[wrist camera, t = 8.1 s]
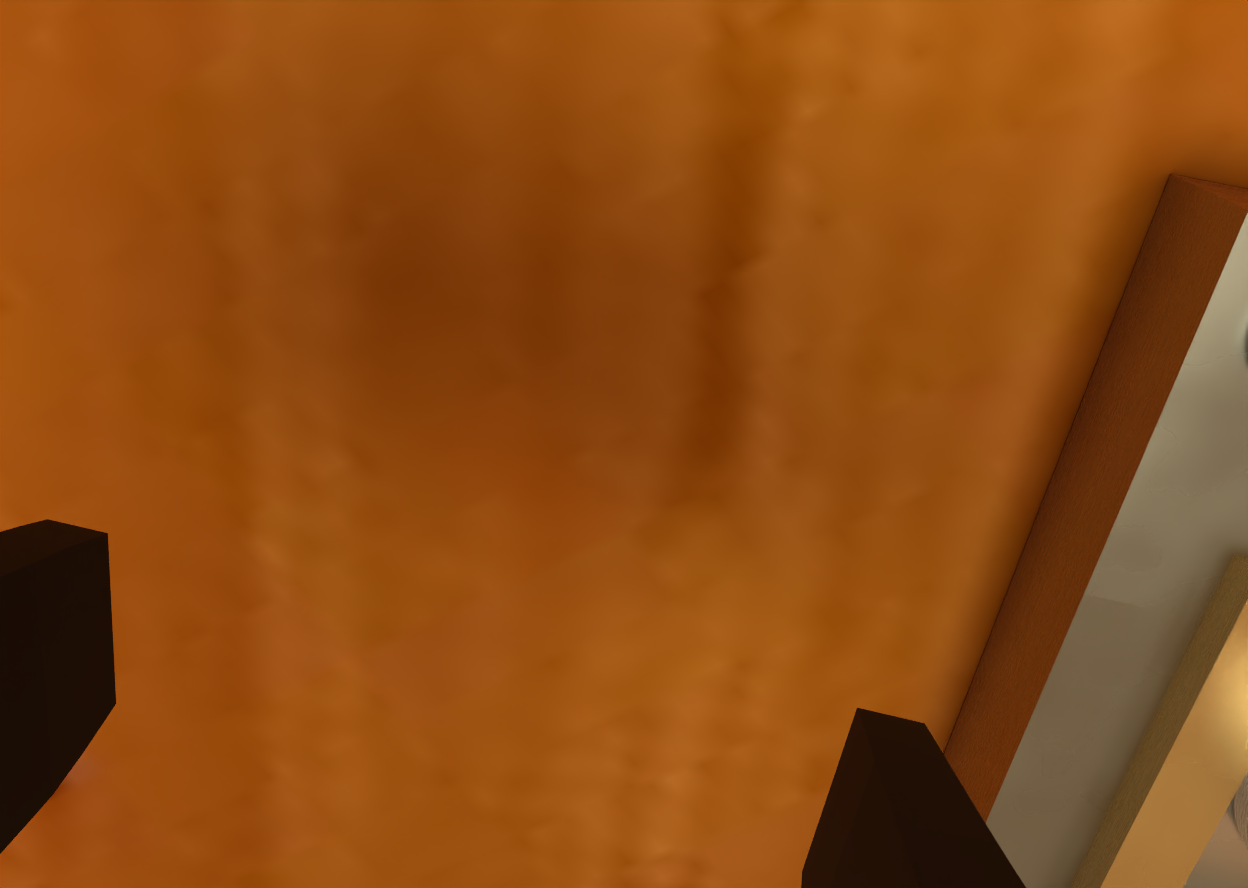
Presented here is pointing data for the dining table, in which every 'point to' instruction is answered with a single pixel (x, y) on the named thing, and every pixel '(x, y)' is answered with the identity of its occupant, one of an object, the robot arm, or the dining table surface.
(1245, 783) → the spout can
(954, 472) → the dining table surface
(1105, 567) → the metal base plate
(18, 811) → the robot arm
